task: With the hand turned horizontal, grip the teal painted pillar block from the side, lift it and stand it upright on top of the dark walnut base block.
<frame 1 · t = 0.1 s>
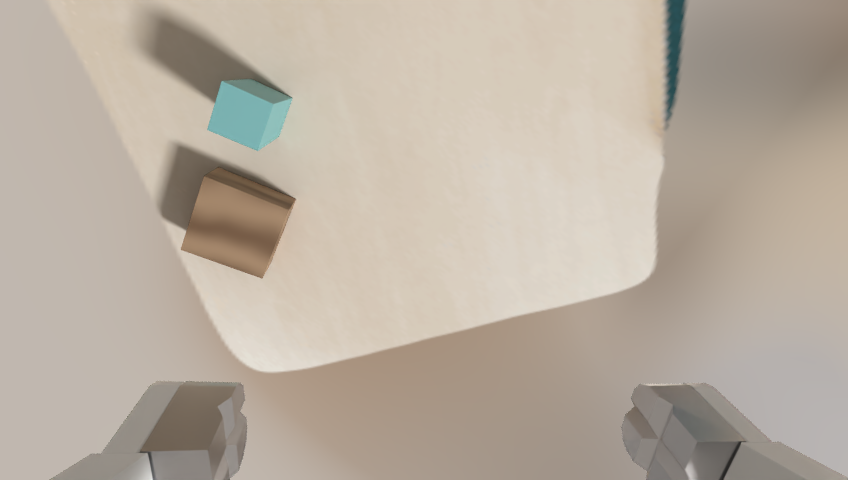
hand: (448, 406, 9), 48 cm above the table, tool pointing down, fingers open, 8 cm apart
walnut base: (246, 216, 56), on the table
teal pillar: (265, 108, 51), on the table
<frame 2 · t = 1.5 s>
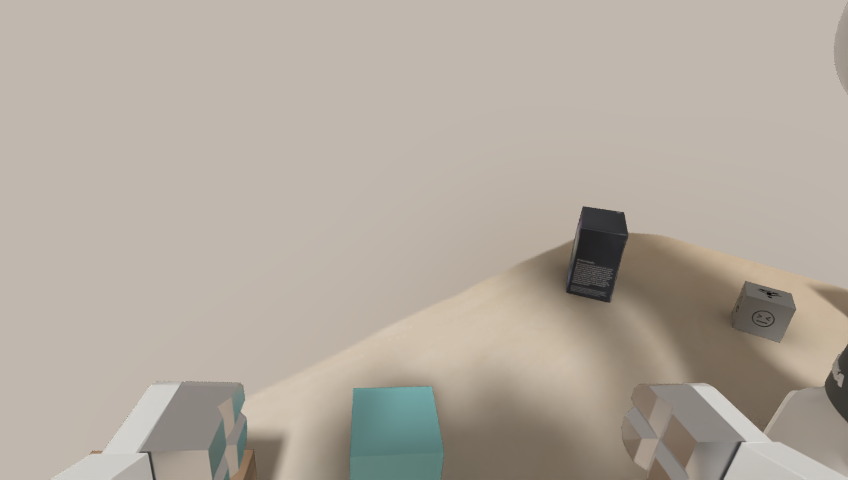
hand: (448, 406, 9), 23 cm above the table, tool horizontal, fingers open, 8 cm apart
small box: (587, 283, 65), on the table
dice cube: (753, 328, 57), on the table
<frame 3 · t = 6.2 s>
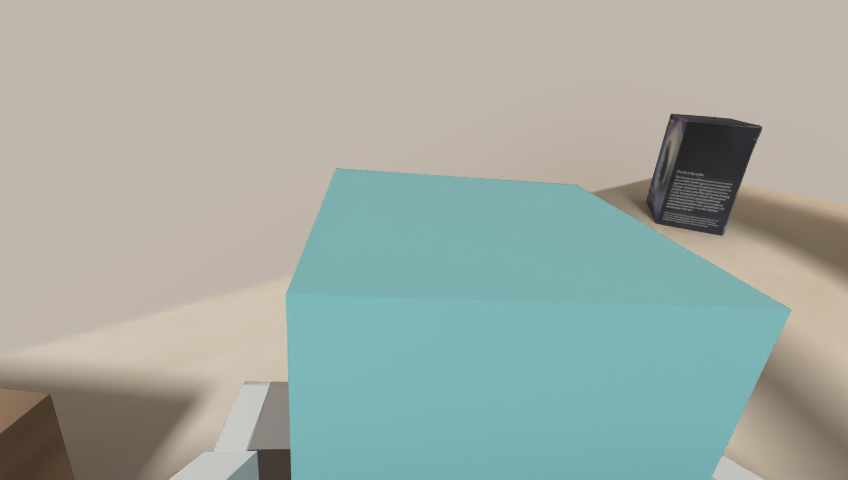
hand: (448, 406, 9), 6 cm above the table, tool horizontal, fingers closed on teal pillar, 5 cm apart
small box: (678, 217, 47), on the table
when the fingers open (12 cm above the table, at t = 10.2 s): teal pillar drops 2 cm, resting on walnut base.
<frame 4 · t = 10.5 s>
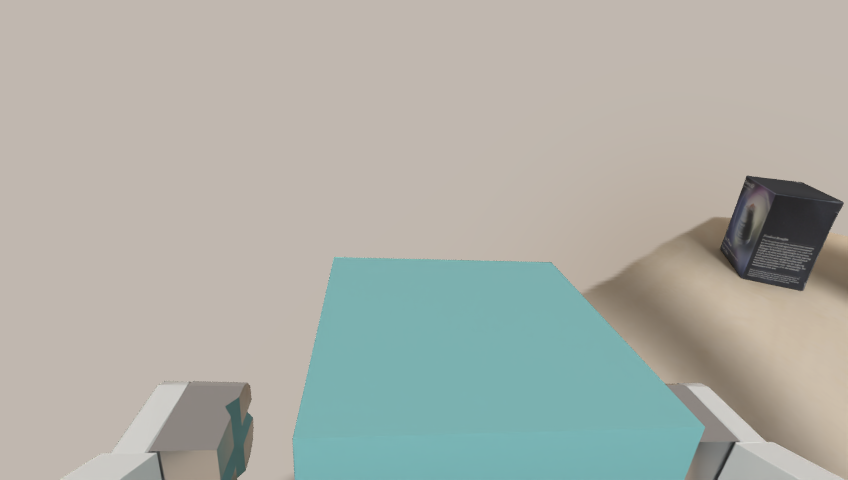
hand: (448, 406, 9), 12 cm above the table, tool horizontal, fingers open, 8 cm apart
small box: (755, 269, 53), on the table
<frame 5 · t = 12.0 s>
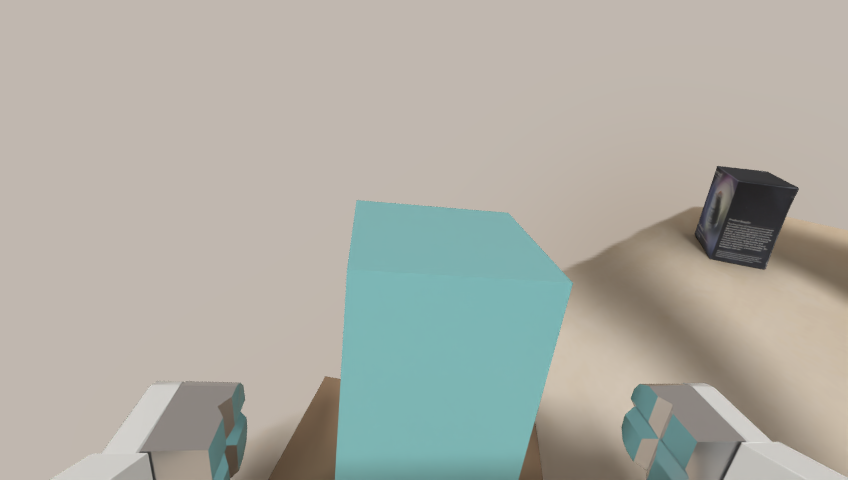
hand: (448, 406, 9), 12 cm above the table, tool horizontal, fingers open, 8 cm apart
small box: (724, 251, 57), on the table
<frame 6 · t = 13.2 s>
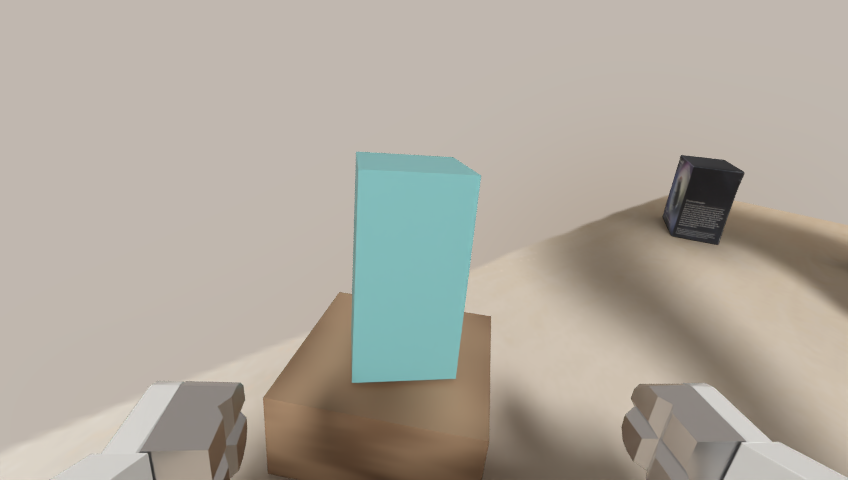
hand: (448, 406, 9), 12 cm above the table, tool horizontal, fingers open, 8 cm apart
walnut base: (391, 420, 25), on the table
teal pillar: (399, 350, 23), point 5 cm above the table
small box: (686, 231, 65), on the table
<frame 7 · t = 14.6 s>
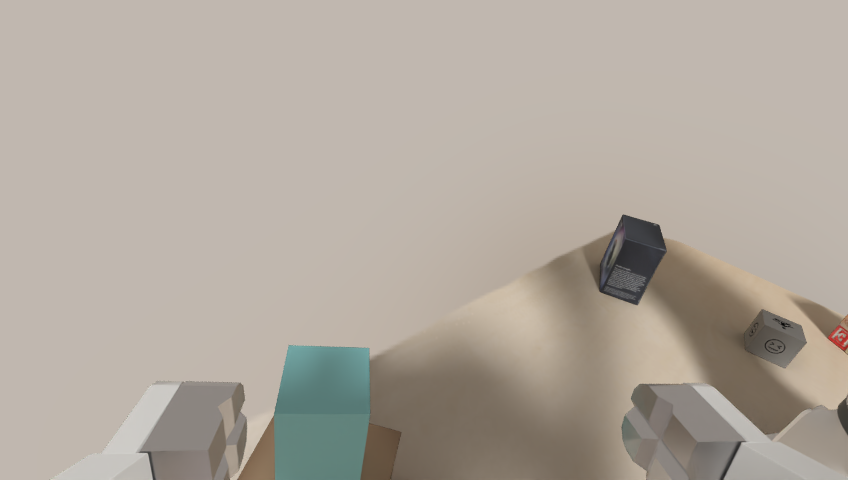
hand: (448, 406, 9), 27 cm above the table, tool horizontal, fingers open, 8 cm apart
teal pillar: (319, 478, 29), point 5 cm above the table
small box: (616, 284, 72), on the table
dice cube: (762, 351, 63), on the table
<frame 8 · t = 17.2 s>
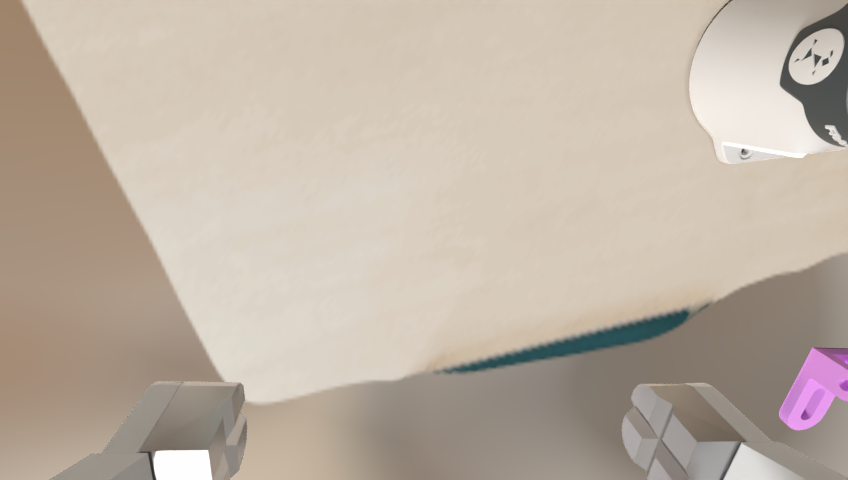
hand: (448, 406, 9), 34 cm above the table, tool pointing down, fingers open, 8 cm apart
bracket: (807, 385, 59), on the table
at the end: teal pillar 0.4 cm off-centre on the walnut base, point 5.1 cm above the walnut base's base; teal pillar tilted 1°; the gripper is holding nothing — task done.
